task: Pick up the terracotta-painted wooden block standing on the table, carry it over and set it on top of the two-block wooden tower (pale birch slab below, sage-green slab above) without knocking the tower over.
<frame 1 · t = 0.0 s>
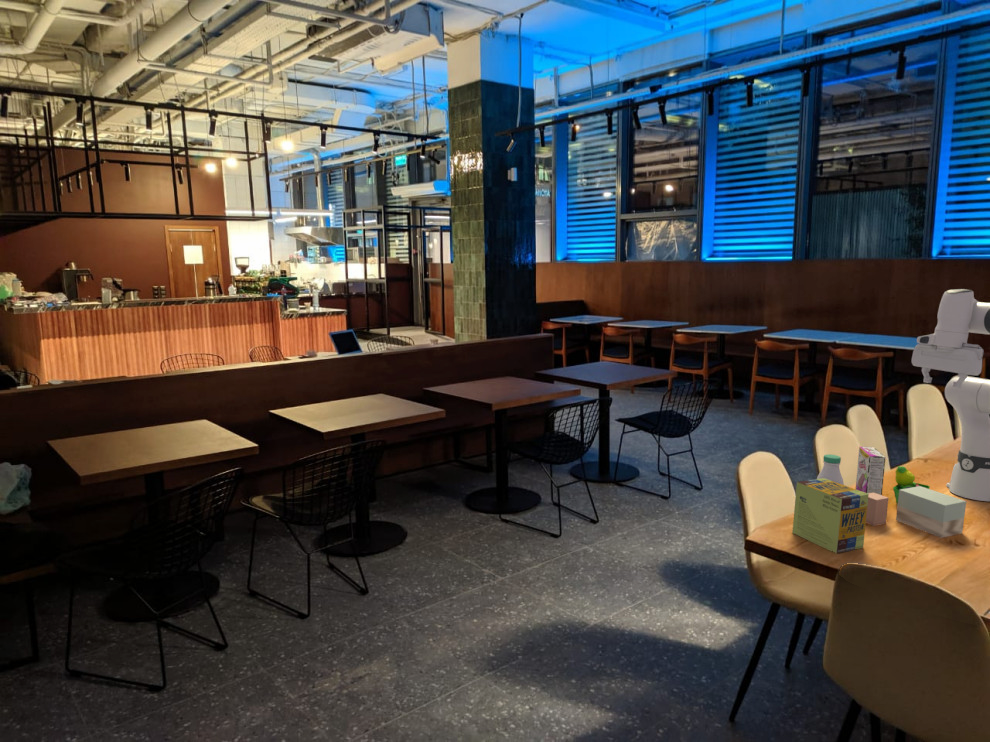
hand: (941, 385, 215), 39 cm above the table, tool pointing down, fingers open, 8 cm apart
green toy figure: (907, 502, 224), on the table
milk bottle: (826, 520, 208), on the table
protein box: (827, 541, 193), on the table
block: (872, 521, 207), on the table
tower top: (930, 511, 202), point 5 cm above the table, touching tower base
tower base: (928, 527, 203), on the table, touching tower top
candy bar box: (867, 500, 225), on the table
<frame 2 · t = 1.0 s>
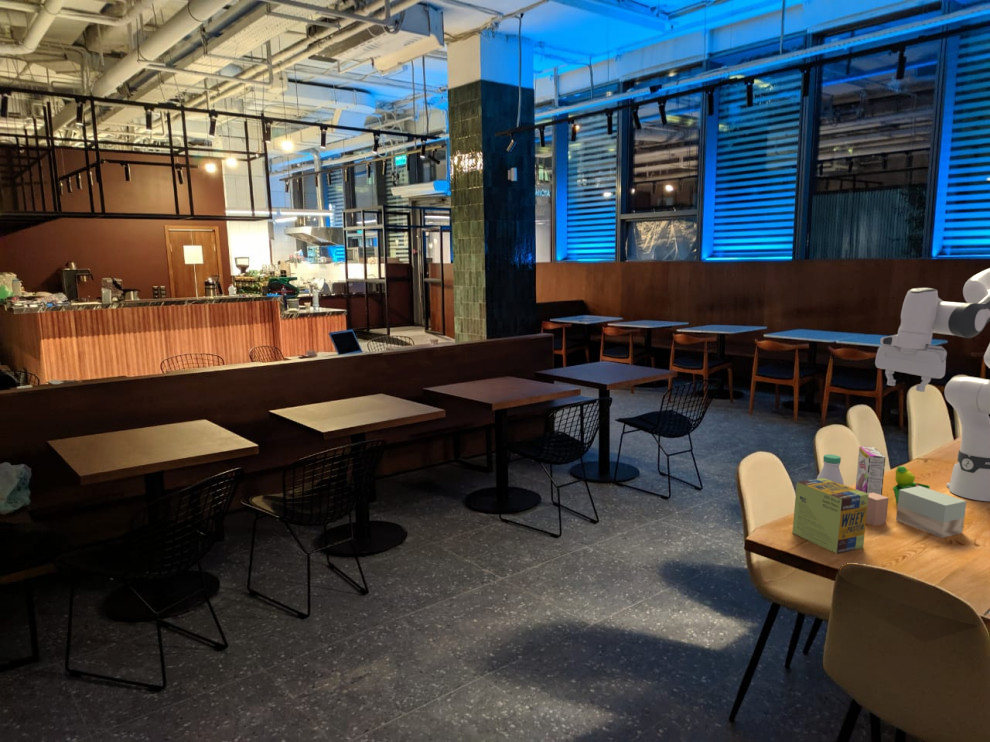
hand: (905, 388, 206), 40 cm above the table, tool pointing down, fingers open, 8 cm apart
nothing on the table moved.
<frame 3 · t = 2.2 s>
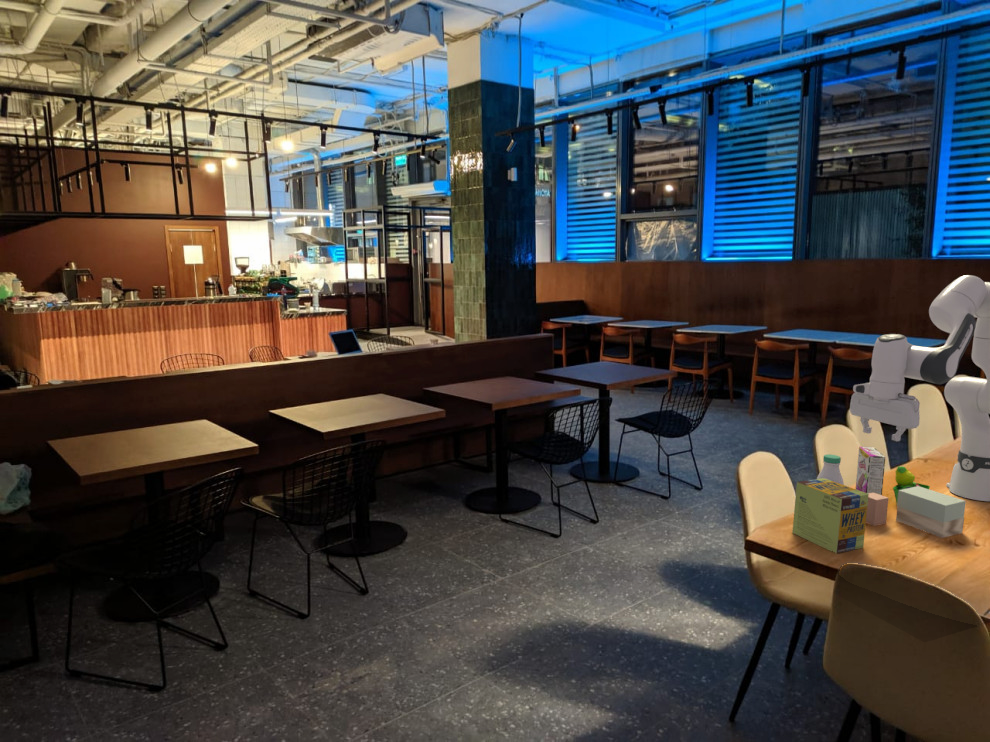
hand: (881, 436, 202), 26 cm above the table, tool pointing down, fingers open, 8 cm apart
nothing on the table moved.
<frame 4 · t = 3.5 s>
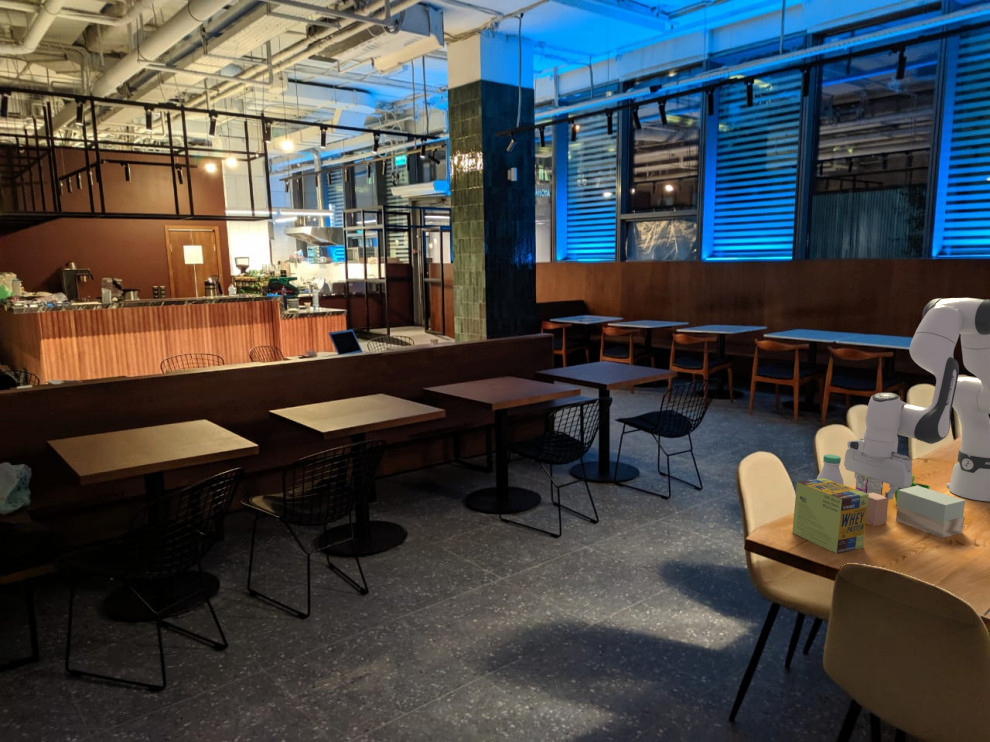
hand: (874, 493, 205), 9 cm above the table, tool pointing down, fingers open, 8 cm apart
nothing on the table moved.
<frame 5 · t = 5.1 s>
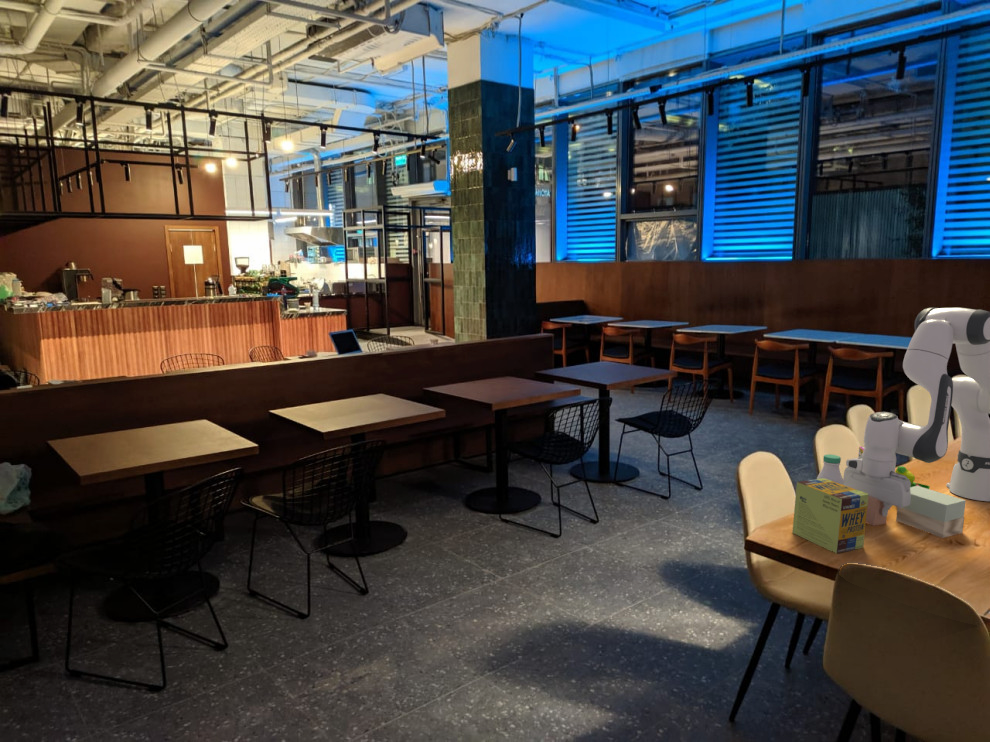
hand: (873, 511, 206), 3 cm above the table, tool pointing down, fingers closed on block, 5 cm apart
block: (872, 521, 207), on the table, touching gripper
tower top: (929, 511, 202), point 5 cm above the table
tower base: (928, 527, 203), on the table
everything else where it was.
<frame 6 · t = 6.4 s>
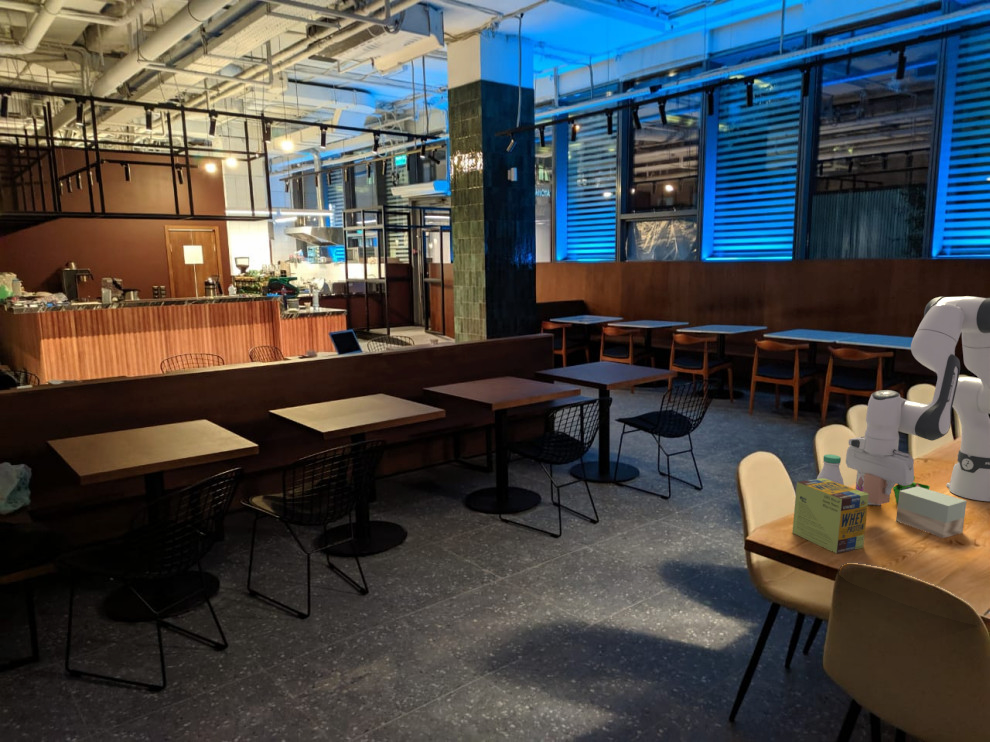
hand: (876, 490, 205), 10 cm above the table, tool pointing down, fingers closed on block, 5 cm apart
block: (875, 500, 206), point 6 cm above the table, touching gripper
tower top: (930, 512, 202), point 5 cm above the table, touching tower base
tower base: (928, 528, 203), on the table, touching tower top
everything else where it was.
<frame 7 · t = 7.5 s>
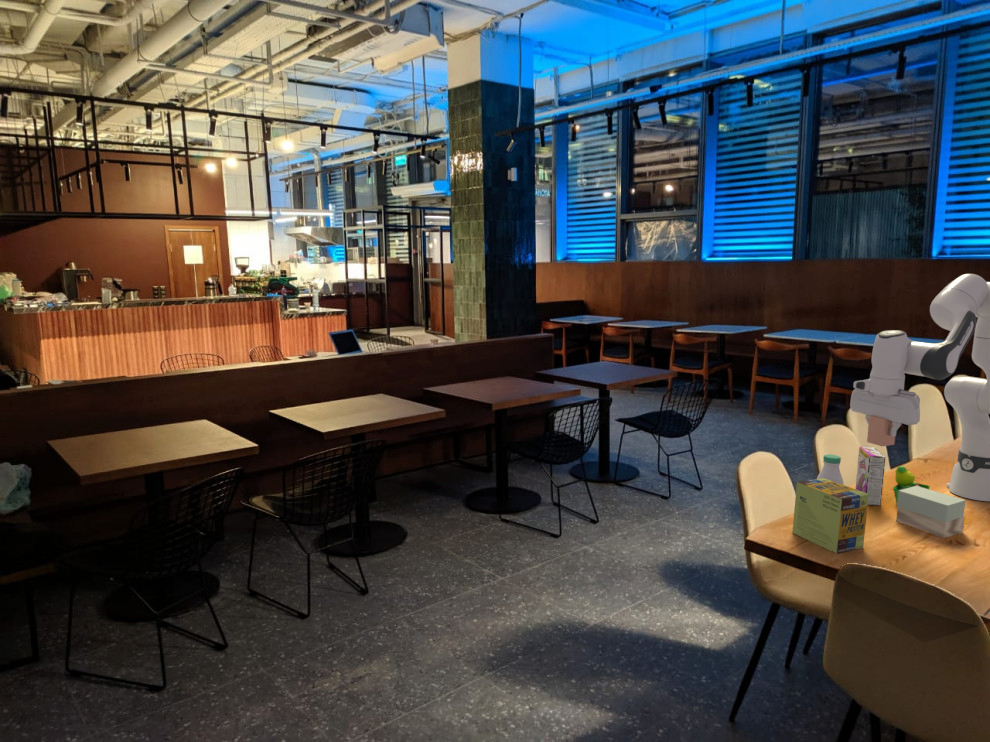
hand: (881, 432, 202), 27 cm above the table, tool pointing down, fingers closed on block, 5 cm apart
block: (880, 443, 203), point 24 cm above the table, touching gripper
everything else where it was.
when the fingers open (14 cm above the table, at t = 12.5 s): block drops 1 cm, point 10 cm above the table.
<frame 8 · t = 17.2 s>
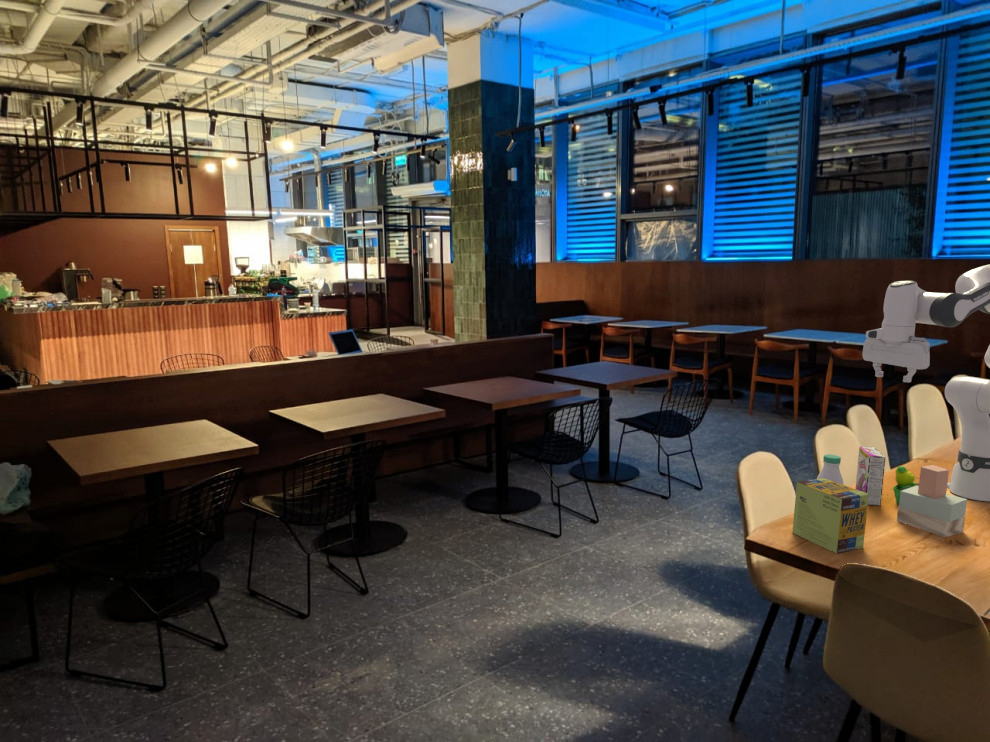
hand: (892, 379, 212), 41 cm above the table, tool pointing down, fingers open, 8 cm apart
block: (931, 494, 202), point 10 cm above the table
at the end: block 0.5 cm from the tower top (horizontally); block point 9.6 cm above the table; tower top 0.1 cm off-centre on the tower base, point 5.0 cm above the tower base's base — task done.
